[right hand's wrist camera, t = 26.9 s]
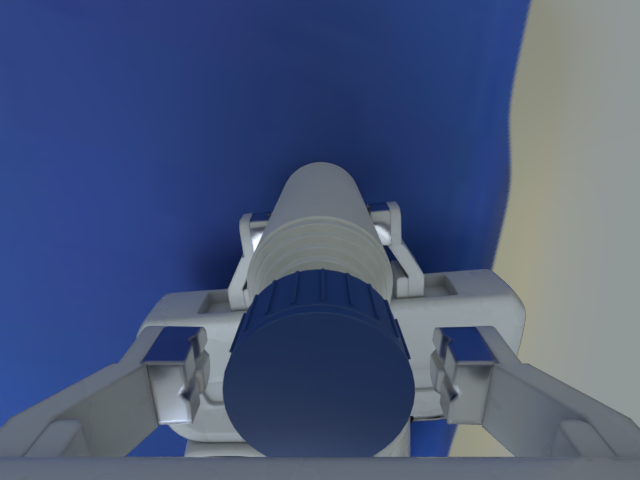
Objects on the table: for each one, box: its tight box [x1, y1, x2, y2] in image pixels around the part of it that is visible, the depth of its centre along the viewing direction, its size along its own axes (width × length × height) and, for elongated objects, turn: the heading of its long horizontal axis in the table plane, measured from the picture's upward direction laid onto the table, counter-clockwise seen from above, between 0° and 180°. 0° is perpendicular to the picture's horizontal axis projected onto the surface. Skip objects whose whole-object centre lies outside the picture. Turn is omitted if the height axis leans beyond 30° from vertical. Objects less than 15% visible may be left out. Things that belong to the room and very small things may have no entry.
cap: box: [222, 268, 415, 457], centre depth 9 cm, size 4×4×2 cm
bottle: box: [247, 162, 393, 305], centre depth 17 cm, size 5×5×17 cm
